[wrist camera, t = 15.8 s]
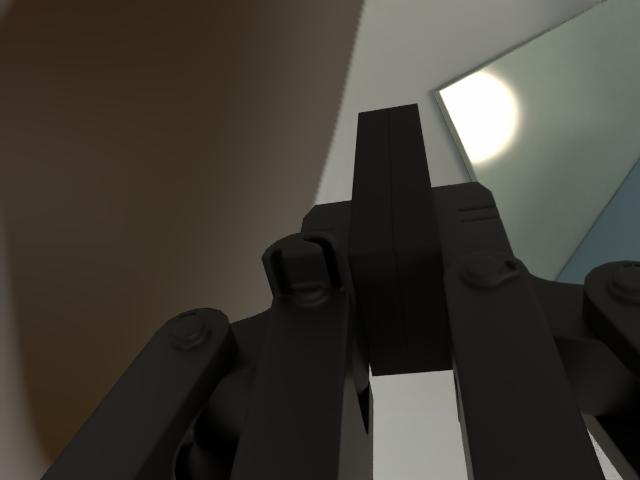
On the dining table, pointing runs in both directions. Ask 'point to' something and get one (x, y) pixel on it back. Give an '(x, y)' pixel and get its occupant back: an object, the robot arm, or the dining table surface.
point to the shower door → (610, 234)
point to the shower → (553, 130)
